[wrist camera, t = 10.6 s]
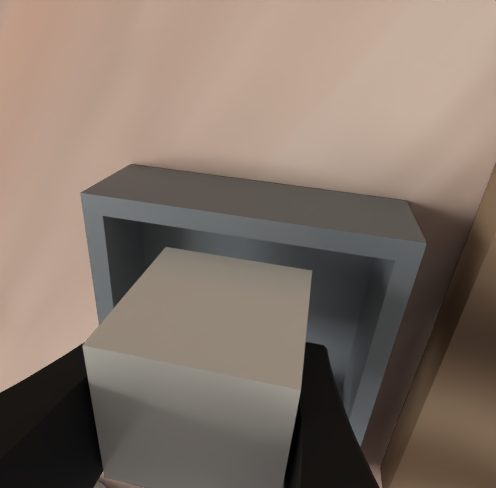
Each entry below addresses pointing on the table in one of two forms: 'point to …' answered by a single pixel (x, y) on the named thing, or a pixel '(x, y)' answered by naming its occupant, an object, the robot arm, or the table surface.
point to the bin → (270, 255)
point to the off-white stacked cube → (200, 373)
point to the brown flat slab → (455, 379)
